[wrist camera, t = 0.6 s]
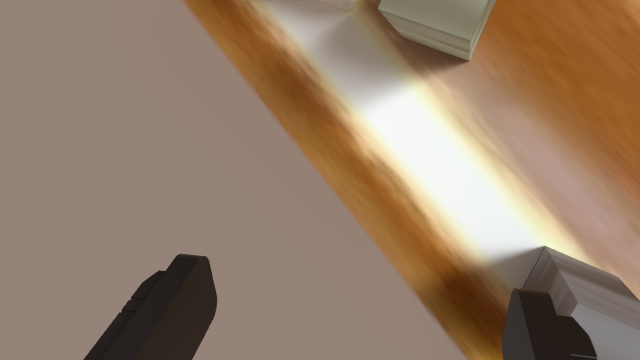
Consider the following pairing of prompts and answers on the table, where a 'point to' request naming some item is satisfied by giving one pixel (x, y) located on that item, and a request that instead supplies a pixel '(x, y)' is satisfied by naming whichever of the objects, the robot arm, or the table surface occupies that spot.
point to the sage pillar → (440, 22)
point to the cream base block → (340, 3)
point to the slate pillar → (591, 303)
